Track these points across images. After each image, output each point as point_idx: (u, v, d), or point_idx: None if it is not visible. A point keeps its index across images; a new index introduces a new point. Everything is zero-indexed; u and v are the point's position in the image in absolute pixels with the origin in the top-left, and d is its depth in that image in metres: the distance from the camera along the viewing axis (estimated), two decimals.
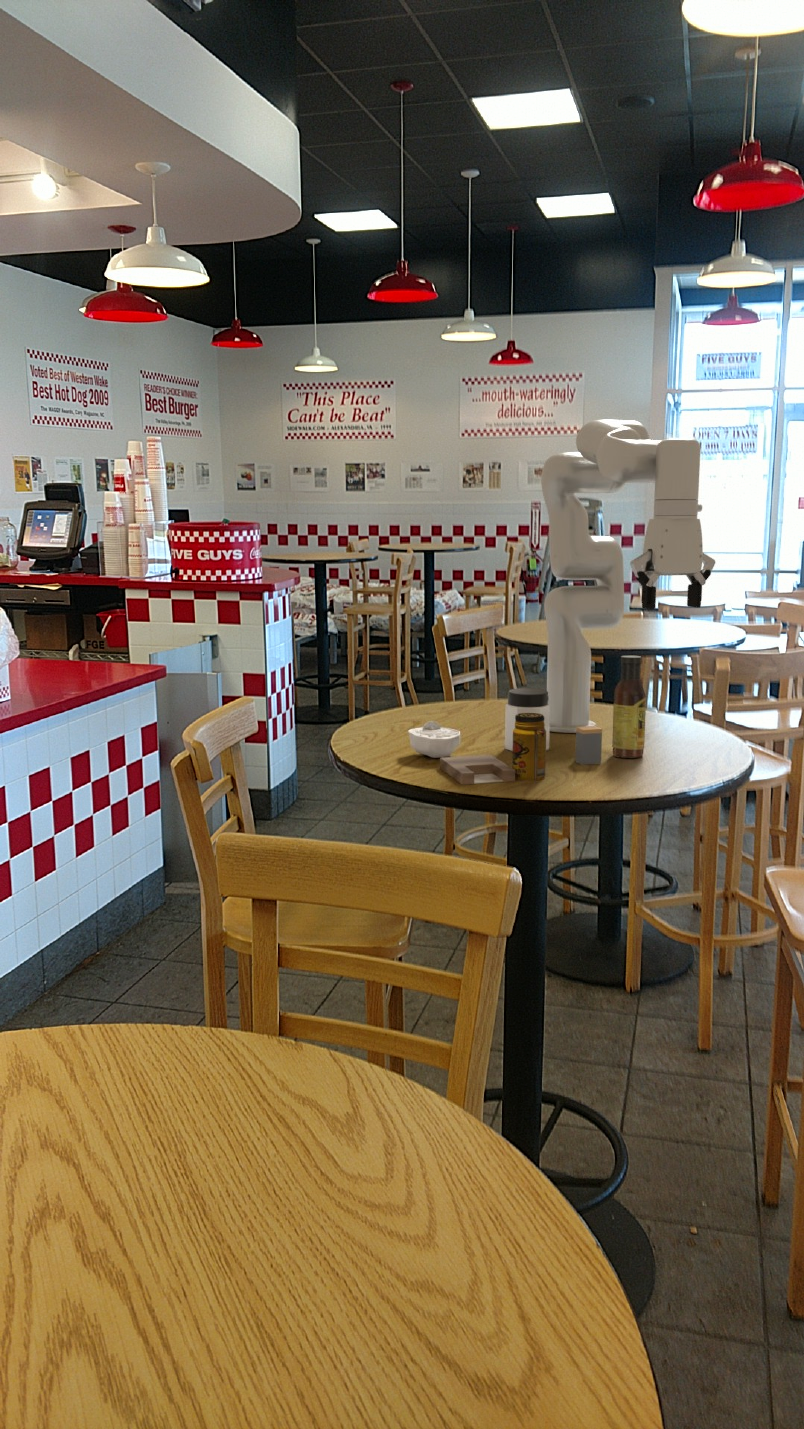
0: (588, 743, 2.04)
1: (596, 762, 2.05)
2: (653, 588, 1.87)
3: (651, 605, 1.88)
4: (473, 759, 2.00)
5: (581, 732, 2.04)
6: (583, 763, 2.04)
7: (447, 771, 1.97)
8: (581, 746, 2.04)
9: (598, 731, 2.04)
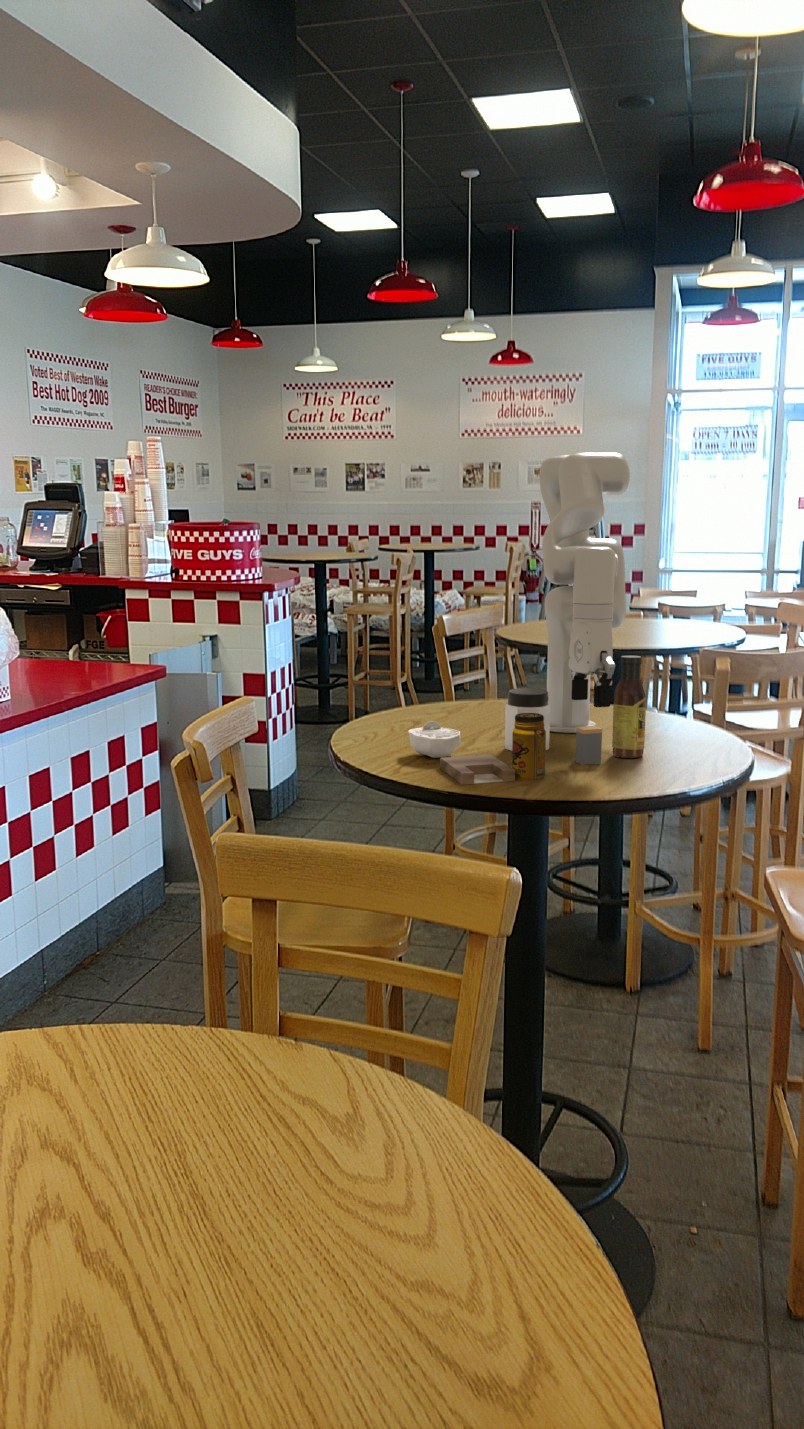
0: (588, 743, 2.04)
1: (596, 762, 2.05)
2: (610, 687, 1.98)
3: (608, 703, 1.99)
4: (473, 759, 2.00)
5: (581, 732, 2.04)
6: (583, 763, 2.04)
7: (447, 771, 1.97)
8: (581, 746, 2.04)
9: (598, 731, 2.04)
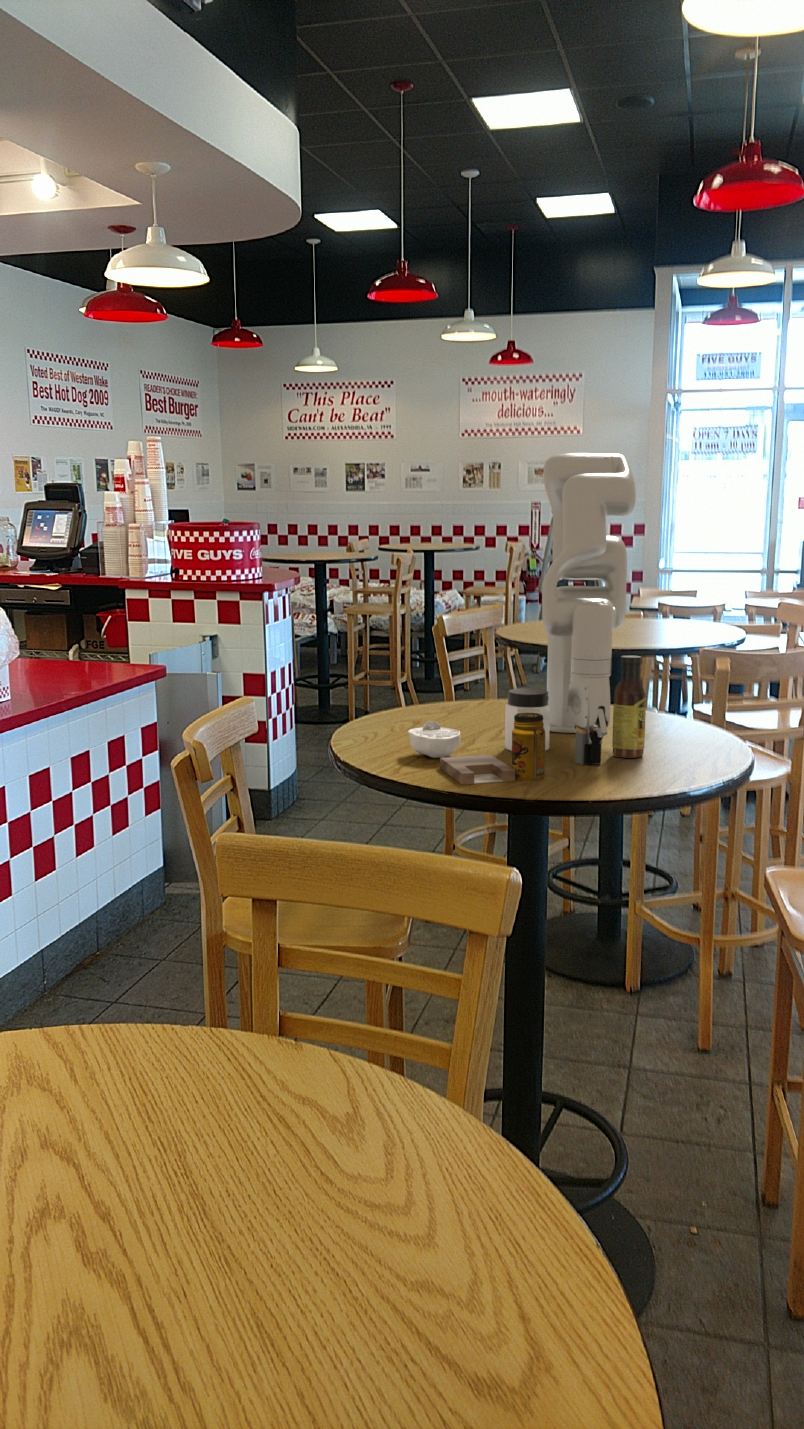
0: None
1: None
2: (600, 744, 2.04)
3: (599, 760, 2.04)
4: (473, 759, 2.00)
5: (581, 732, 2.03)
6: (583, 763, 2.04)
7: (447, 771, 1.97)
8: (581, 746, 2.04)
9: None
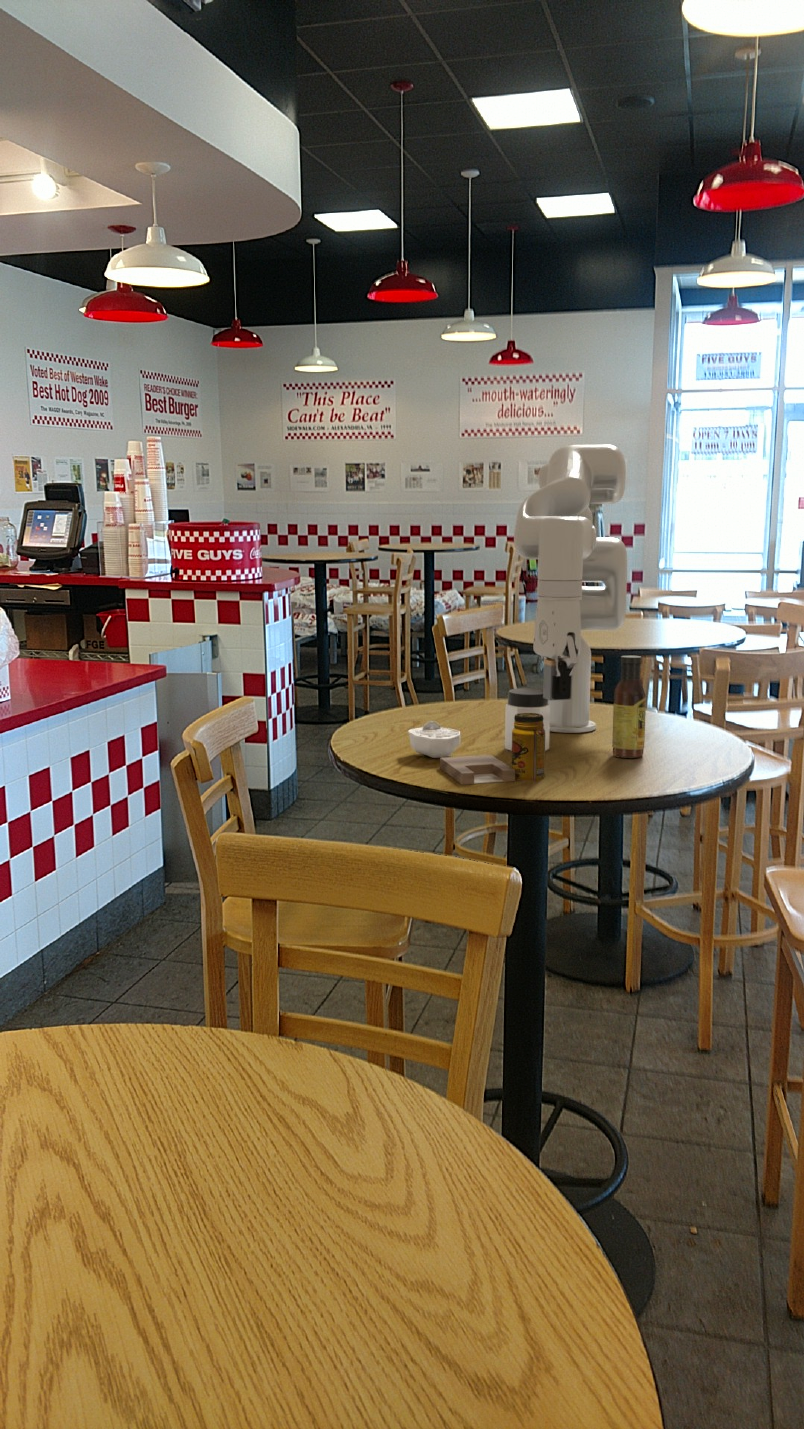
0: None
1: None
2: (570, 677, 1.83)
3: (568, 694, 1.83)
4: (473, 759, 2.00)
5: (549, 664, 1.83)
6: (551, 699, 1.83)
7: (447, 771, 1.97)
8: (550, 680, 1.83)
9: None
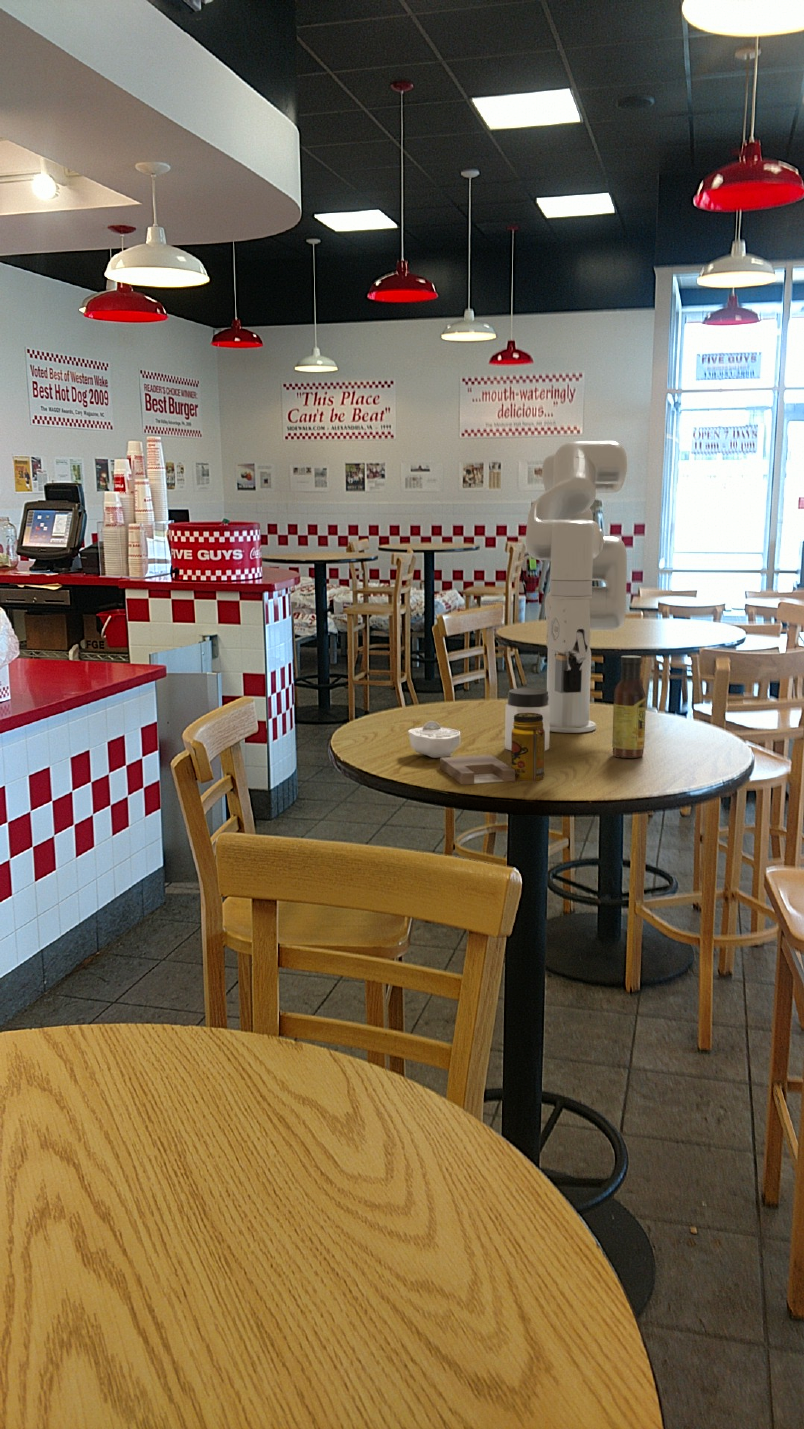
0: None
1: None
2: (580, 671, 1.94)
3: (579, 688, 1.95)
4: (473, 759, 2.00)
5: (560, 659, 1.94)
6: (562, 691, 1.95)
7: (447, 771, 1.97)
8: (560, 674, 1.94)
9: None
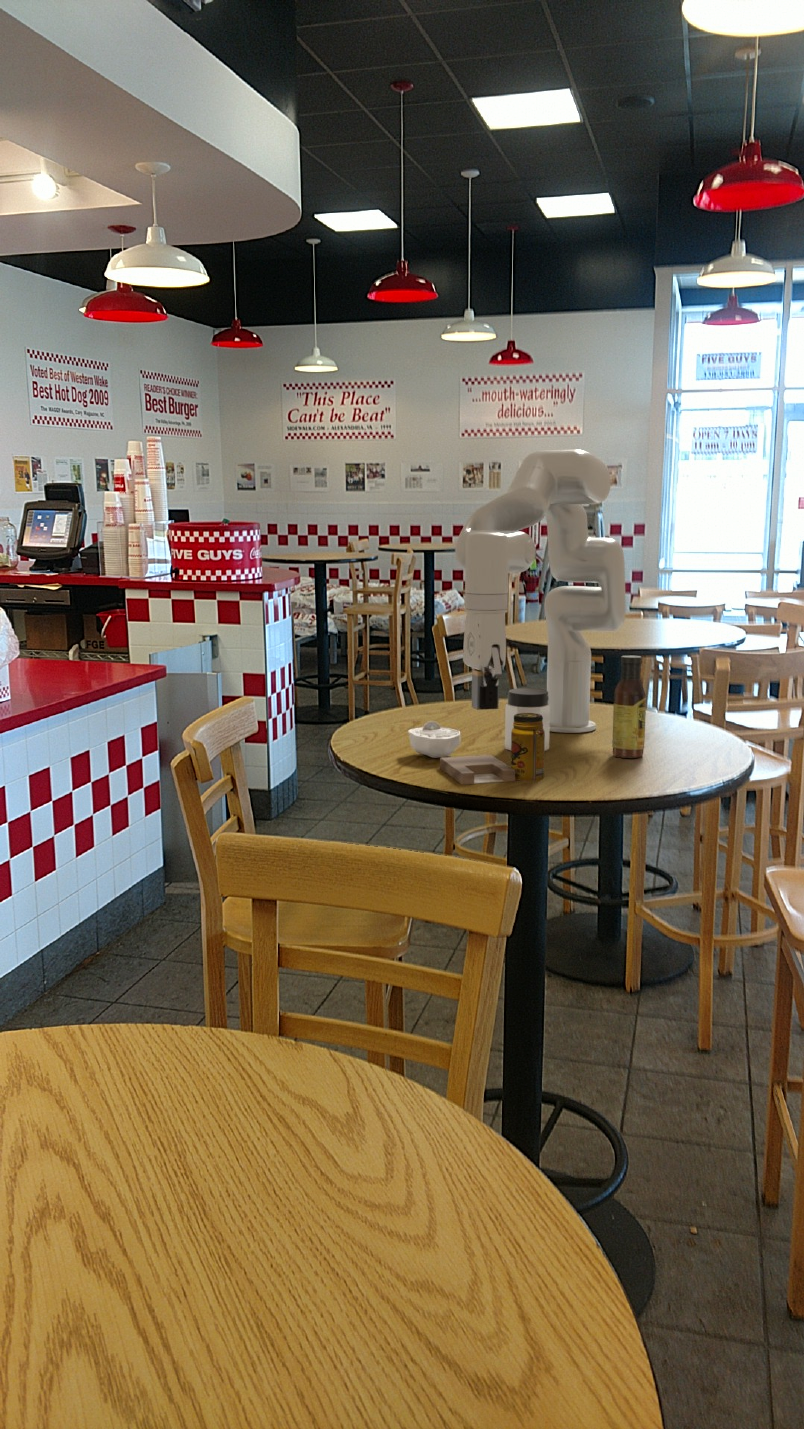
0: None
1: None
2: (497, 687, 1.88)
3: (495, 704, 1.88)
4: (473, 759, 2.00)
5: (476, 674, 1.88)
6: (478, 708, 1.88)
7: (447, 771, 1.97)
8: (476, 690, 1.88)
9: None
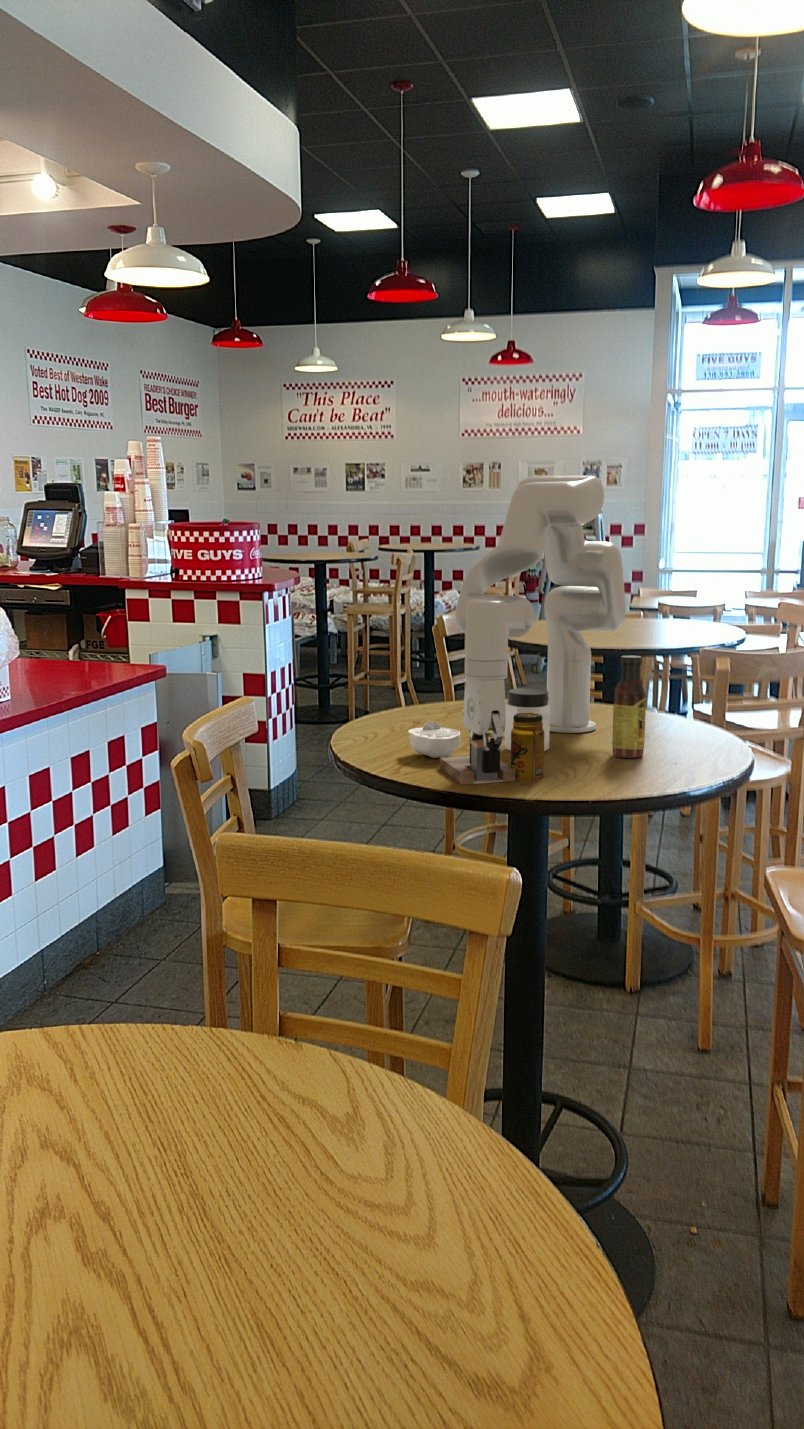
0: None
1: (492, 778, 1.91)
2: (499, 751, 1.88)
3: (498, 768, 1.89)
4: None
5: (475, 746, 1.90)
6: (478, 779, 1.91)
7: (447, 771, 1.97)
8: (476, 761, 1.90)
9: None
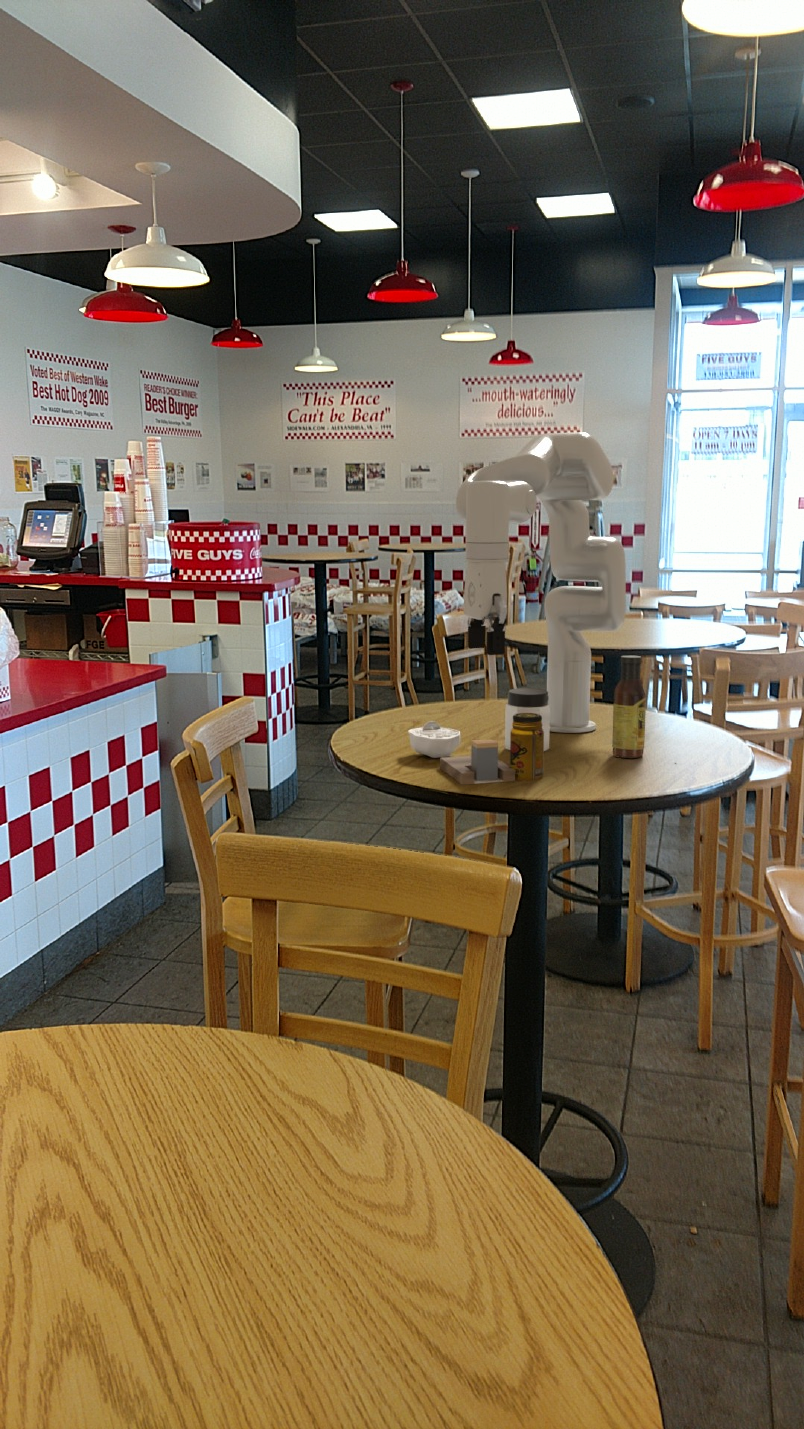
0: (482, 758, 1.90)
1: (492, 778, 1.91)
2: (504, 633, 1.83)
3: (503, 650, 1.84)
4: None
5: (475, 746, 1.90)
6: (478, 779, 1.91)
7: (447, 771, 1.97)
8: (476, 761, 1.90)
9: (494, 745, 1.90)
